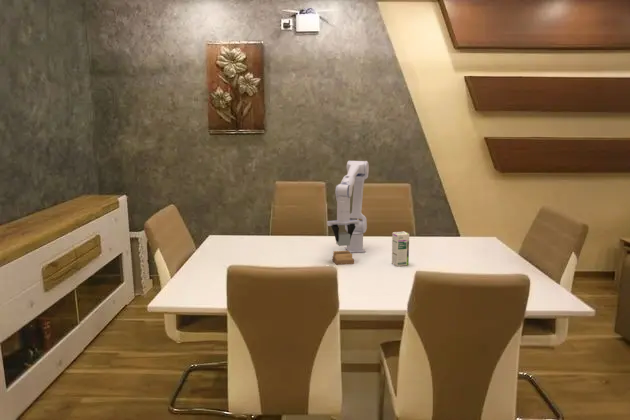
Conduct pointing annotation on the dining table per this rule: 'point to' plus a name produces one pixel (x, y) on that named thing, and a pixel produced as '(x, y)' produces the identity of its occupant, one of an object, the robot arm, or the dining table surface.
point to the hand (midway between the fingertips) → (343, 240)
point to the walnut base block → (342, 261)
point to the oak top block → (342, 255)
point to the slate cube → (343, 239)
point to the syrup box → (400, 248)
